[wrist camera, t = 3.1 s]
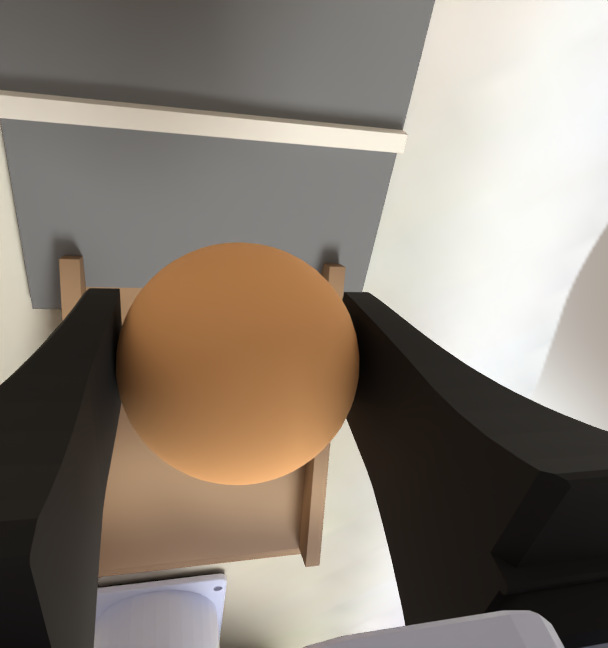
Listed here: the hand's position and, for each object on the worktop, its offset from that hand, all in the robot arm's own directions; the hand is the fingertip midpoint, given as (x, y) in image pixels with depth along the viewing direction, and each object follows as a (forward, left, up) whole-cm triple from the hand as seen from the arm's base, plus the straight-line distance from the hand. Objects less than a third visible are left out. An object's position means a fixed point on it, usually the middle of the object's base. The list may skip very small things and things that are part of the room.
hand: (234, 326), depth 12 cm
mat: (+3, 0, -7) cm, 8 cm away
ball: (0, 0, +1) cm, 1 cm away
